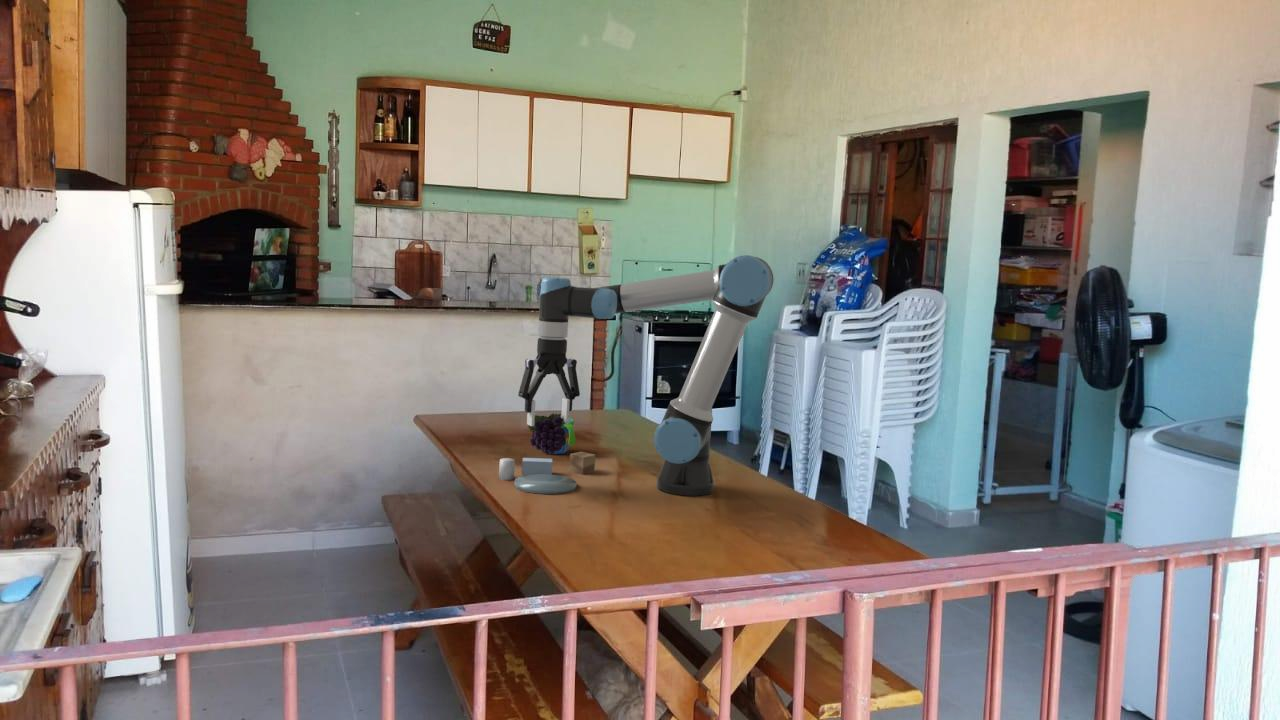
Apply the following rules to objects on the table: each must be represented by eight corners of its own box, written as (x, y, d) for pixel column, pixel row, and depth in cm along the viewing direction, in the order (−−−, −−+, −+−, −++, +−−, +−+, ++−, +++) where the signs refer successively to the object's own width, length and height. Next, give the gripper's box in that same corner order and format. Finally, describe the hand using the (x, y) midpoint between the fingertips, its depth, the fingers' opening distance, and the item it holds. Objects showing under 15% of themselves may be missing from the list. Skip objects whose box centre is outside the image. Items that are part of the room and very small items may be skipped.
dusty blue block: (551, 476, 255) (552, 462, 255) (521, 475, 254) (522, 461, 254) (551, 472, 259) (552, 458, 259) (522, 471, 258) (522, 457, 258)
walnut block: (594, 472, 262) (595, 454, 262) (582, 474, 258) (583, 457, 258) (580, 468, 265) (581, 451, 265) (569, 471, 261) (570, 454, 261)
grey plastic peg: (516, 479, 249) (517, 461, 248) (502, 480, 247) (503, 462, 246) (510, 475, 252) (510, 457, 252) (496, 477, 250) (497, 458, 249)
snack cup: (526, 448, 287) (527, 416, 286) (554, 445, 293) (556, 413, 292) (554, 459, 275) (556, 425, 274) (583, 456, 281) (585, 422, 280)
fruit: (539, 469, 236) (523, 442, 248) (579, 461, 240) (560, 435, 252) (538, 433, 232) (521, 407, 244) (578, 425, 235) (559, 401, 248)
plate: (587, 490, 241) (587, 486, 241) (531, 496, 233) (531, 491, 232) (558, 476, 255) (558, 472, 254) (504, 481, 246) (504, 476, 246)
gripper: (582, 336, 248) (577, 419, 251) (507, 335, 236) (502, 423, 239) (597, 339, 242) (591, 425, 245) (519, 339, 230) (515, 429, 233)
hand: (547, 424), depth 242 cm, fingers closed on fruit, 9 cm apart
